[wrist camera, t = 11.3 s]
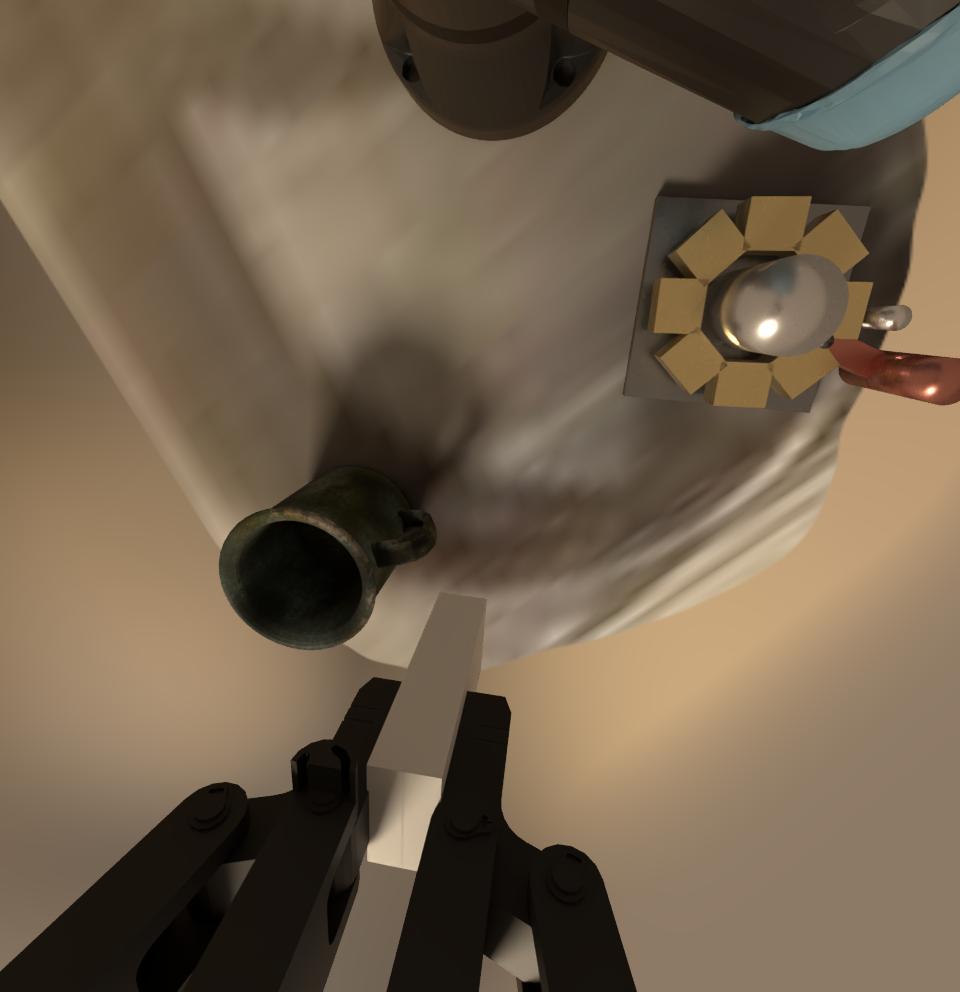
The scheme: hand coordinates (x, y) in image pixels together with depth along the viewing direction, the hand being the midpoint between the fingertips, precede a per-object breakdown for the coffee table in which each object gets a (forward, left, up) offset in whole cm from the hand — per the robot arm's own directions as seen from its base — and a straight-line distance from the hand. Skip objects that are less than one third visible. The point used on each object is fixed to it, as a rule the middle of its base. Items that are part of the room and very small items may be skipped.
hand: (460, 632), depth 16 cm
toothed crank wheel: (-10, +16, -25) cm, 31 cm away
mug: (+8, -12, -27) cm, 30 cm away
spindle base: (-11, +14, -26) cm, 32 cm away
